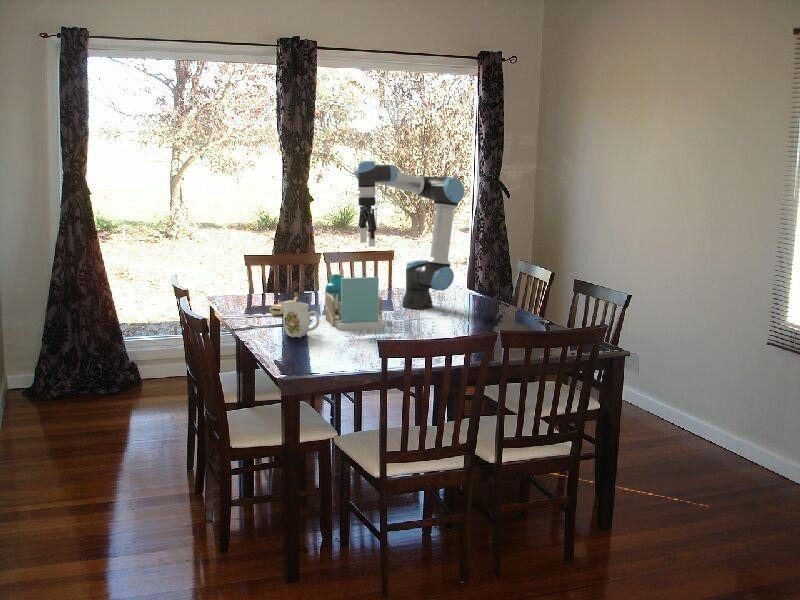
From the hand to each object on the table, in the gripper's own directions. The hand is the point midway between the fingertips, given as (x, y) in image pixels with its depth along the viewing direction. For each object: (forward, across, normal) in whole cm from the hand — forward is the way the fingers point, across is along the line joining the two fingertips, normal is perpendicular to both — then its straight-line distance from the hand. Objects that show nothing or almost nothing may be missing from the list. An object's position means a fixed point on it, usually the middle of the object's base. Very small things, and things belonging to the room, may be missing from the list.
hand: (367, 244), depth 356 cm
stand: (+35, +17, -9) cm, 40 cm away
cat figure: (+35, -31, -32) cm, 57 cm away
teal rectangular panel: (+34, +17, -9) cm, 39 cm away
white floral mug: (+34, +20, -36) cm, 54 cm away
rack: (+35, +6, -9) cm, 36 cm away
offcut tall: (+33, +6, -9) cm, 35 cm away
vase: (+35, -16, -11) cm, 40 cm away
